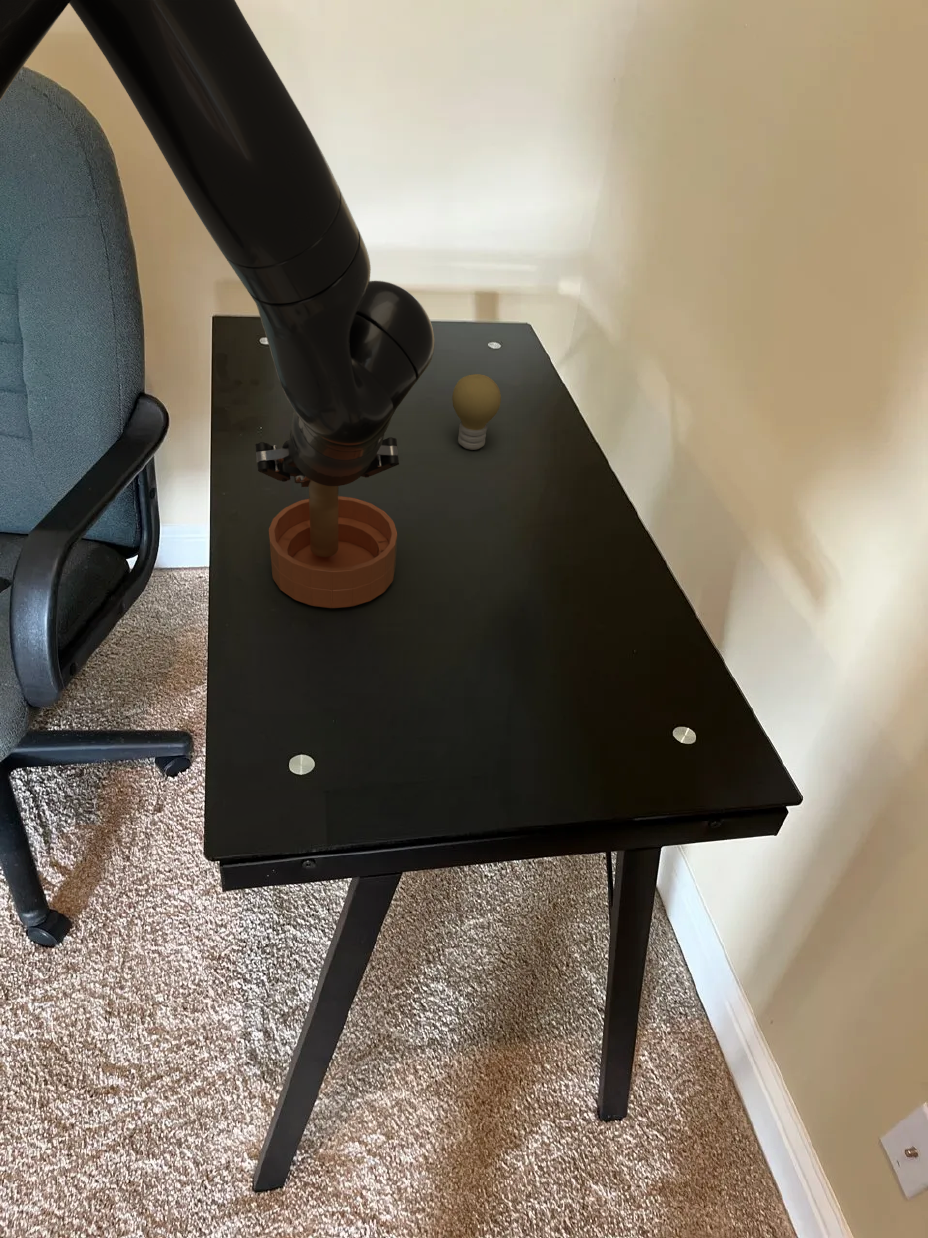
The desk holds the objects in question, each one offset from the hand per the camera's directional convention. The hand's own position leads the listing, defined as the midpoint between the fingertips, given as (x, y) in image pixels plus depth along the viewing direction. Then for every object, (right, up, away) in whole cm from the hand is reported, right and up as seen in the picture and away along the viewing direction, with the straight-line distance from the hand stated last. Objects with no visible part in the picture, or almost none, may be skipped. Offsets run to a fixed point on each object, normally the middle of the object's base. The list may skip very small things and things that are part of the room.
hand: (320, 476), depth 86 cm
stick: (0, -7, +4) cm, 8 cm away
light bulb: (+16, +9, +27) cm, 33 cm away
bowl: (+1, -10, +4) cm, 11 cm away
